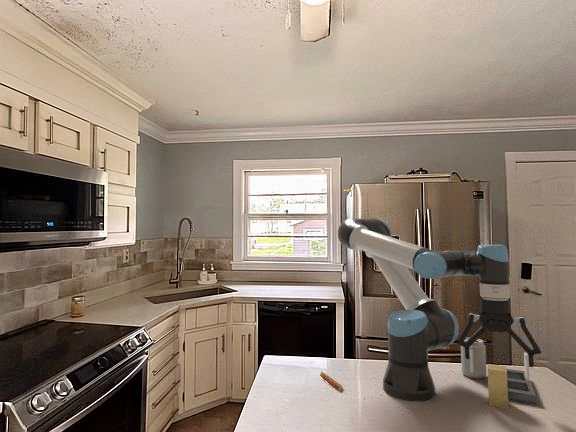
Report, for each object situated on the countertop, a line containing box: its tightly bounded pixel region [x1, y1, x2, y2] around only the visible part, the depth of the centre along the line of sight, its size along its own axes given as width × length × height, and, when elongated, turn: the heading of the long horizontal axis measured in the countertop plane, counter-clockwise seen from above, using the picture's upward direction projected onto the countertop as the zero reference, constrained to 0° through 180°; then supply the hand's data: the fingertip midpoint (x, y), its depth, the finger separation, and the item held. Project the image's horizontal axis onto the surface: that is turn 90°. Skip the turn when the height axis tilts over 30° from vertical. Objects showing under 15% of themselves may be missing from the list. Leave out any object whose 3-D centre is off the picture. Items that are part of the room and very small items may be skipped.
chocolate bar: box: [319, 371, 345, 392], centre depth 116 cm, size 3×12×2 cm, turn 25°
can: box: [460, 336, 487, 380], centre depth 123 cm, size 8×8×12 cm
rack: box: [506, 368, 537, 406], centre depth 112 cm, size 9×20×2 cm, turn 153°
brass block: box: [487, 363, 509, 410], centre depth 102 cm, size 4×4×10 cm
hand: (498, 374), depth 102 cm, fingers open, 13 cm apart
